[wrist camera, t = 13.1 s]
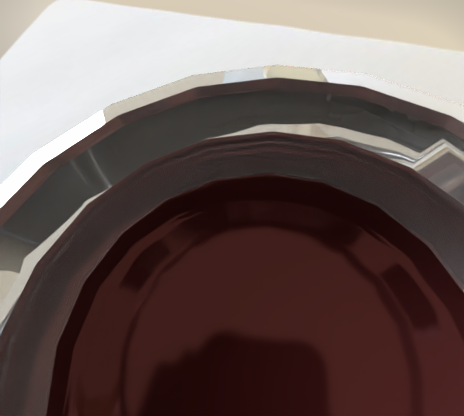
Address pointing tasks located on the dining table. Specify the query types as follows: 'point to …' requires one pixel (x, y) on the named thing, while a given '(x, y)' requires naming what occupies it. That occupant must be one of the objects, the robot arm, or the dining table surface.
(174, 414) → the wineglass
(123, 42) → the dining table surface
